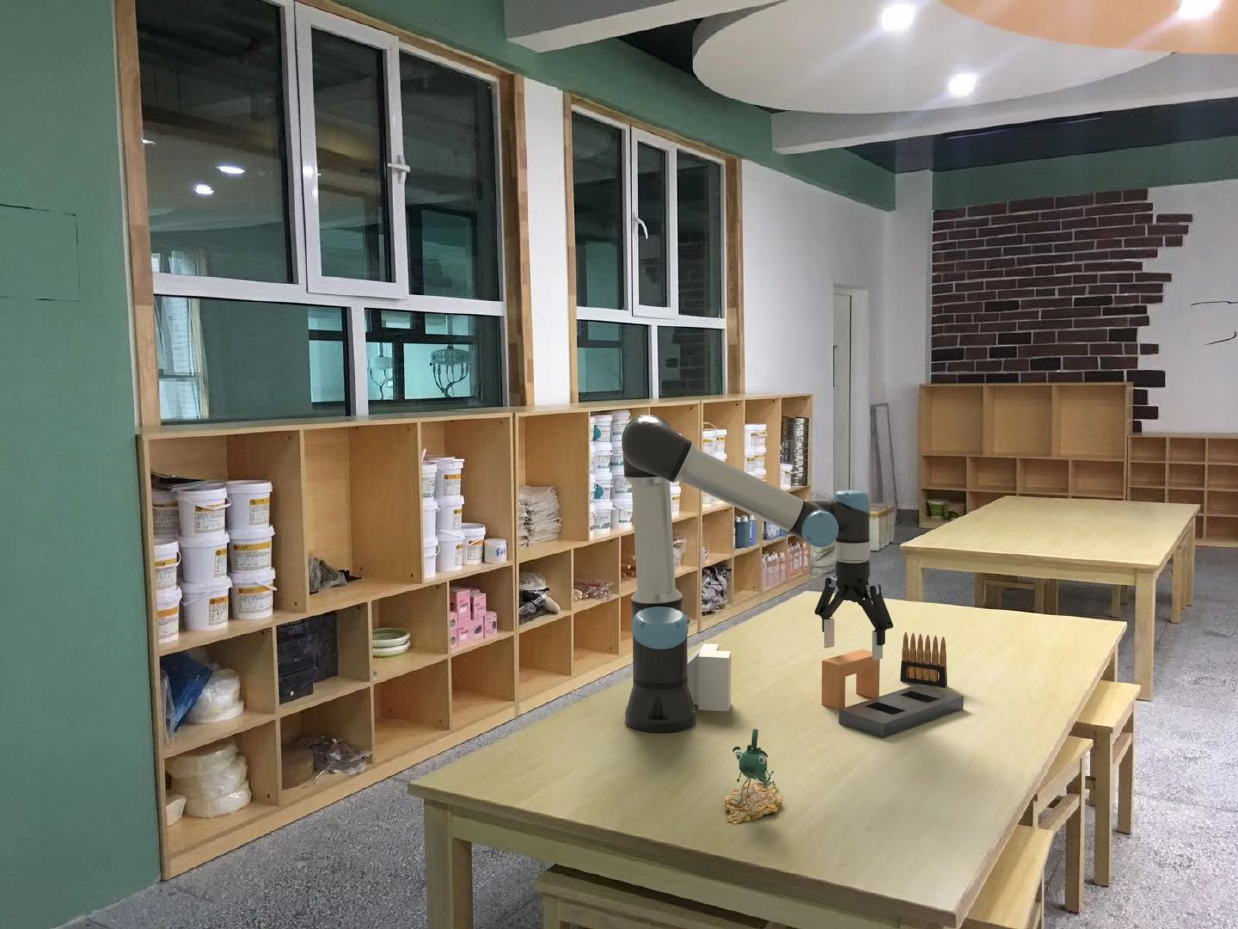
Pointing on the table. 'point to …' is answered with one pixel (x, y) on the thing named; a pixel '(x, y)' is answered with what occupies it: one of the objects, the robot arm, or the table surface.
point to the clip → (846, 666)
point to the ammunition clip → (924, 662)
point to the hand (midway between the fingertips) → (852, 653)
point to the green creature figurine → (752, 787)
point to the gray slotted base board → (900, 710)
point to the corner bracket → (710, 678)
